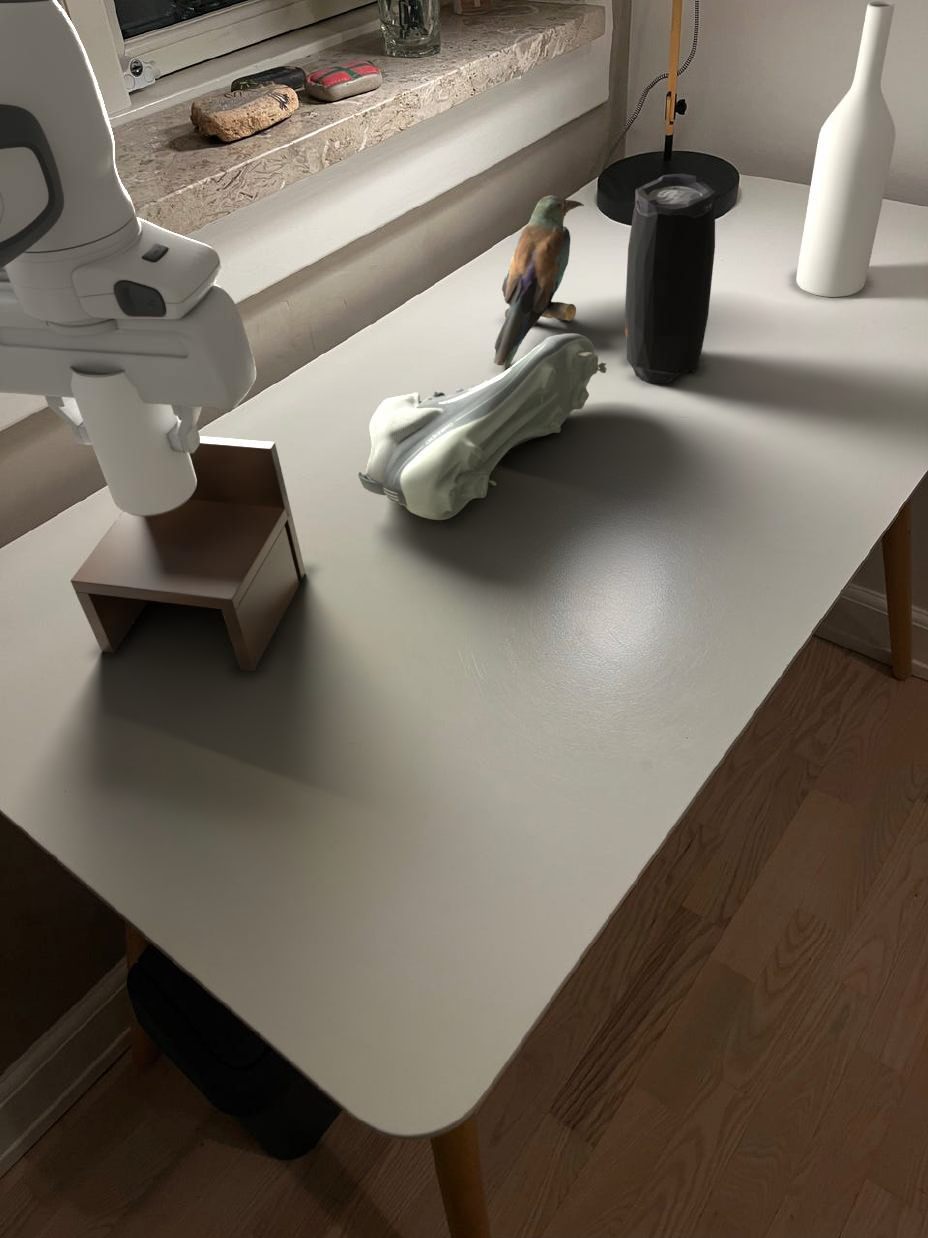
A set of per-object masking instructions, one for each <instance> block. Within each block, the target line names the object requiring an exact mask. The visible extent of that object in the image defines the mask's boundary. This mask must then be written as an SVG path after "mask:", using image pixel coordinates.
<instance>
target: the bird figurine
mask: <svg viewBox="0 0 928 1238" xmlns="http://www.w3.org/2000/svg"><path fill="white" fill-rule="evenodd" d="M578 207H585V205H584V203H582V202H580V201H577V200H571V199H566V198H564V197H561V196H557V195H554V194H550V195H547V196H544V197H542V198H541V199H540V200H539V201H537V203H536V206H535V208H534V210H533V212H532V214H531V216H530V220H529V221H528V223H527V224H526V226H525V227H524V228H523V229H522V231H521V233H520V236H519V237H518V239H517V241H516V244H515V247H514V250H513V254H512V257H511V260H510V263H509V265H508V268H507V271H506V273H505V277H504V279H503V284H502V286H501V291H502V293H503V294H502V295H503V298H504V302H505V303H506V304H507V305H509V307H508V308H507V309H505V311H504V318H505V319H504V322H503V324H502V326H501V328H500V330H499V333H498V335H497V338H496V339H495V343H494V350H495V353H494V358H493V364H494V365H497V366H502V369H507V367H509V366H510V365H511V364H512V362H513V359H514V358H515V356H516V355H517V352H518V350H519V347H520V346H521V344H522V342H523V340H524V339H525V338H526V337H527V335H528V333H529V332H530V331H531V330H532V329H533V328H534V326H535V325H536V324H537V322H538V321H539V319H541V318H542V317H543V318H545V319H556V320H557V321H560V322H561V321H563V320H565V321H569V322H570V321H572V320H573V319H574V318H575V317H576V314H577V307H576V305H575V304H573V303H566V302H562V301H552V300H553V298H554V295H555V294H556V292H557V291H558V290H559V288H560V285H561V284H562V281H563V277H564V275H565V271H566V268H567V267H568V265H569V260H570V250H571V234H570V230H569V228H568V227H567V226H564V220H565V216H567V213H568V212H570V210H574V209H576V208H578Z"/></svg>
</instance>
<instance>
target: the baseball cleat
mask: <svg viewBox="0 0 928 1238" xmlns="http://www.w3.org/2000/svg"><path fill="white" fill-rule="evenodd" d="M595 351H596V350H595V346H594V344H593V343H592V342H591V340H590V339H589V338H587V336H585V335H582V334H579V333H561V334H556V335H551V336H549V337H546V338H545V339H544V340H543V341H541V342H540V343H539V344H538V345H537V346H536V347H534V348H533V349H532V350H531V351H529V352H528V353H527V354H525V356H523V357H522V358H520V359H519V360H518V361H516V362H515V363H514V364H512V366H510V367H509V368H507V369H506V370H505V371H503V372H501V373H500V374H498V375H497V376H495V377H492V378H488V379H485V380H484V382H482V383H480V384H474V385H471V386H470V388H467V389H463V388H462V387H461V388H456V390H455V391H456V392H453V393H452V394H449V395H446V394H445V393H444V392H443V391H437V390H436V391H434V392H433V393H434V394H431V395H429V396H428V397H426V398H425V399H423V400H421V396H420V393H419V392H412V393H409V394H404V395H398V396H395V397H388V398H386V399H384V400H383V401H382V402H381V404H379V406H378V407H377V409H376V411H375V412H374V414H373V415H372V418H371V419H370V422H369V436H370V441H371V442H370V443H371V449H370V455H369V458H368V462H367V466H366V471H365V474H363V473H362V472H361V471H360V472H358V474H357V477H358V479H359V481H360V483H361V486H362V488H364V490H367V491H368V492H371V493H373V494H376V495H380V496H385V497H387V499H389V500H390V501H391V502H394V503H396V504H398V505H400V506H404V507H405V508H406V509H407V511H408V512H410V513H412V514H414V515H416V516H417V517H421V518H424V519H429V520H434V521H435V520H436V521H444V520H448V519H451V518H452V517H455V516H456V515H458V513H460V512H461V510H462V509H463V508H465V507H466V505H467V504H468V503H469V502H470V501H471V500H473V499H481V498H483V499H484V498H485V497H486V496H487V492H488V486H489V483H490V485H492V486H497V482H496V481H494V480H490V475H491V474H492V472H493V470H494V469H495V468H496V466H497V465H498V463H500V461H501V459H502V458H503V457H504V456H505V455H506V453H508V452H509V450H510V449H512V448H514V447H517V446H518V445H521V444H524V443H525V442H528V441H531V440H533V439H535V438H540V437H544V436H548V435H551V434H554V433H555V434H558V433H560V432H561V430H562V428H561V426H562V425H563V424H564V422H565V421H566V420H567V419H568V417H569V415H570V414H571V413H572V411H574V410H581V409H583V407H584V406H585V403H586V402H587V400H588V399H589V397H590V393H589V392H588V390H587V387H588V385H589V382H590V380H591V378H592V377H593V376H594V375H596V374H598V372H600V373H603V374H606V372H607V367H606V366H607V363H606V362H600V363H599V355H598V354H596V352H595Z"/></svg>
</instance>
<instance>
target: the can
mask: <svg viewBox="0 0 928 1238" xmlns="http://www.w3.org/2000/svg"><path fill="white" fill-rule="evenodd" d="M70 369H71V370H72V371H73V376H72V380H71V389H72V392H73V395H74V398H75V400H76V403H77V406H78V409H79V411H80V414H81V417H82V419H83V422H84V425H85V427H86V430H87V433H88V435H89V438H90V441H91V443H92V445H91V446H92V448H93V451H94V453H95V456H96V459H97V462H98V464H99V467H100V469H101V472H102V475H103V477H104V480H105V482H106V485H107V488H108V490H109V493H110V495H111V498H112V500H113V502H114V504H115V506H116V507H117V509H120V510H121V511H122V512H123V511H124V512H126V513H128V514H131V515H134V516H141V517H150V516H157V515H162V514H165V513H168V512H171V511H173V510H175V509H177V508H179V507H180V506H182V505H183V504H184V503H186V502H187V501H188V500H189V499H190V497H191V496H192V494H193V492H194V491H195V489H196V485H197V479H196V475H195V472H194V468H193V465H192V461H191V458H190V455H189V453H183V452H174V451H173V450H172V447H171V446H172V443H171V442H170V441H169V438H168V435H167V434H168V432H169V431H170V430H171V429H172V428H174V425H175V424H176V422H177V421H180V418H179V416H176V415H174V412H173V409H172V406H171V405H163V404H149V403H144V402H143V401H142V399H141V398H140V396H139V393H138V391H137V389H136V388H135V387H134V386H133V385H132V383H131V382H130V381H129V380H128V379H127V378H126V376H125V374H124V372H125V370H121V371H118V372H114V373H98V372H96V371H93V372H84V371H76V370H74V369H73V367H71V366H70Z"/></svg>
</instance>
